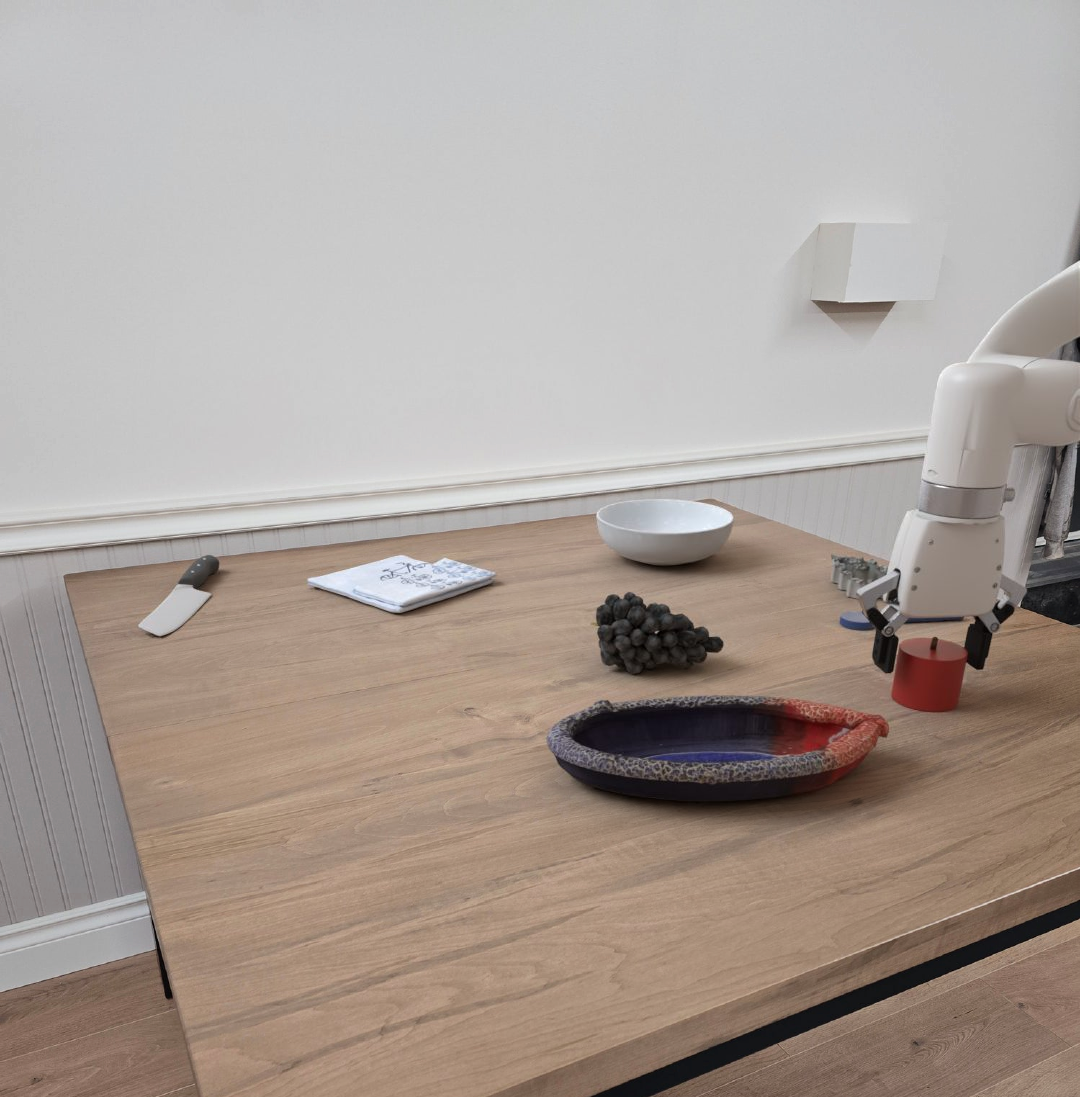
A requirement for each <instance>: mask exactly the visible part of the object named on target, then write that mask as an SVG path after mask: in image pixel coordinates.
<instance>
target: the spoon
mask: <svg viewBox="0 0 1080 1097" xmlns="http://www.w3.org/2000/svg"><path fill="white" fill-rule="evenodd" d="M964 618H965V617H944V618H909V619H908V620H907V621H906V622H905V623H920V622H921V623H923V622H943V620H947V621H962V620H964ZM839 624H840V626H842V627H845V628H846V629H849V630H856V631H868V630H873V629H876V628H875V627H873V625H872V624H871V623H870V621H869V620H868V619H867V618H866V617H865V616H864V615H863V613H862V611H857V610H852V611H851V610H850V611H845V612H842V613H841V614H840V617H839Z"/></svg>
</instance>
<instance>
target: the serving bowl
mask: <svg viewBox="0 0 1080 1097" xmlns="http://www.w3.org/2000/svg"><path fill="white" fill-rule="evenodd" d="M595 518H596V525H597V530H598V534H599V535H600V537H601V540H602V541H603V542H604V544H605V545H606V546H607V547H608V548H609V549H610V550H611V551H612V552H614V553H616V554H617V555H619V556H621V557H623V558H626V559H628V560H631V561H635V562H639V563H643V564H645V565H646V564H647V565H650V566H651V565H652V566H662V567H663V566H666V567H669V566H679V565H684V564H689V563H694V562H698V561H701V560H704V559H707V558H709V557H711V556H713V555H715V554H716V553H717V552H719V551H720V550H721V549H722V548H723V547H724V545H725V544H726V543H727V541H728V540H729V538H730V536H731V533H732V530H733V525H734V521H735V517H734V515H733V514H732V512H730V511H729V510H728V509H725V508H723V507H721V506H717V505H714V504H710V503H705V502H700V501H693V500H685V499H671V498H670V499H669V498H654V499H653V498H650V499H634V500H626V501H620V502H615V503H612V504H608V505H605V506H603V507H601V508H600V509H599V510H598V511H597V512H596V516H595Z"/></svg>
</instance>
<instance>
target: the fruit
mask: <svg viewBox="0 0 1080 1097" xmlns="http://www.w3.org/2000/svg"><path fill="white" fill-rule="evenodd" d="M595 619H596V621H595V622H593V621H592V622H590V625H592V626H596V627H598V628H597V631H596V634H597V637H598V639H599V640H598V647H599V650H600V652H599V653H600V659H601V662H602V664H604V665H605V666H608V667H612V666H614V665H615V666H618V667H619V666H623V665H624V666H625V669H626V671H627V672H628V673H629V674H630V675H638V674H640V673H641V672H642V670H643V668H644V669H647V670H652V669H654V668H655V667H656V666H657V664H658V665H662V664H666V663H667V662H669V663H673V664H675V665H680V666H681V667H682V668H684V669H689V668H691V667H693V666H694V664H702V663H704V662H705V661H706V659H707V657H708V653H709V654H710V653H712V654H719V653H720V652H721V651H722V650H723V648H724V644H725V643H724V640H723V639H722V638H721V637H720V636H718V635H717V636H710V632H709V629H708V628H706V626H697V627H695V625H694V622H692V620H690V619H689V617H688V616H687V615H685V614H684V613H677V614H674V613H671V609H670V606H669V605H667V604H665V603H656V602H653V603H649V604H648V605H646V604H645V602H644V598H642V597H641V596H639V595H636V593H634V592H631V591H628V592H626V593H625V594H624V595H623V598H621V597H620V596H619V595H618V594H615V593H611V594H609V595H607V596H606V598H605V599H604V604H600V605H599V606H598V607H596V614H595ZM656 632H657V633H656Z"/></svg>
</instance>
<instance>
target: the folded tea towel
mask: <svg viewBox="0 0 1080 1097" xmlns="http://www.w3.org/2000/svg"><path fill="white" fill-rule="evenodd" d="M497 575H498V574H497V573H496V572H493V571H492V570H488V569H483V568H479V567H476V566H473V565H469V564H466V563H463V562H461V561H457V560H453V559H449V558H447V557H443V558H441V559H440V560H437V562H434V563H431V562H426V561H422V560H419V559H414V558H411V557H410V556H407V555H403V554H400V555H395V556H391V557H387V558H384V559H381V560H377V561H374V562H369V563H365V564H362V565H357V566H354V567H351V568H347V569H343V570H339V571H336V572H332V573H327V574H325V575H320V576H313V577H309V578H307V586H308V587H313V588H319V589H321V590H324V591H328V592H331V593H334V594H337V595H341V596H345V597H346V598H350V599H351V600H355V601H358V602H361V603H363V604H365V605H370V606H372V607H375V608H379V609H381V610H385V611H387V612H389V613H395V614H402V613H405V612H408V611H411V610H414V609H415V610H416V609H419V608H421V607H424V606H428V605H430V604H433V603H437V602H440V601H443V600H446V599H450V598H454V597H456V596H459V595H461V594H462V595H463V594H465V593H468V592H471V591H473V590H476V589H478V588H481V587H485V586H488V585H492V584H494V582H495V580H494V579H493V578H494V577H497Z"/></svg>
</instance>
